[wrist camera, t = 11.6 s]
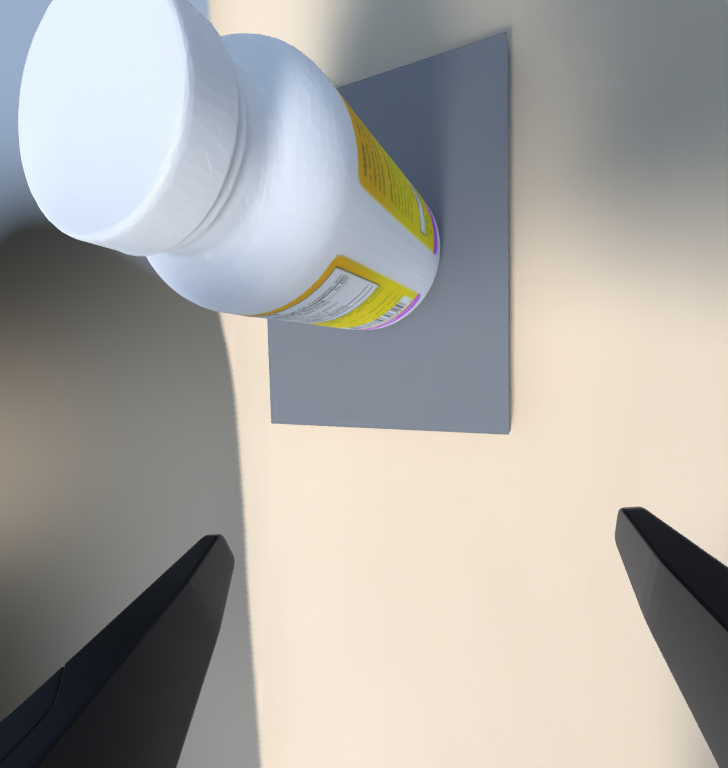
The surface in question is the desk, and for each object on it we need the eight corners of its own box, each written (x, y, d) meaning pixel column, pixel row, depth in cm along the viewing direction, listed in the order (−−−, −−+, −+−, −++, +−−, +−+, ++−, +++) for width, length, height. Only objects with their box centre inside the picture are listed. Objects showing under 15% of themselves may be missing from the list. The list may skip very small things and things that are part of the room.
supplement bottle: (342, 167, 19) (24, -133, 7) (470, 211, 17) (307, -118, 5) (292, 300, 21) (-36, 226, 9) (404, 356, 18) (162, 354, 7)
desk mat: (510, 430, 18) (508, 434, 17) (282, 420, 23) (271, 423, 22) (508, 49, 17) (506, 31, 16) (271, 124, 22) (259, 114, 21)
